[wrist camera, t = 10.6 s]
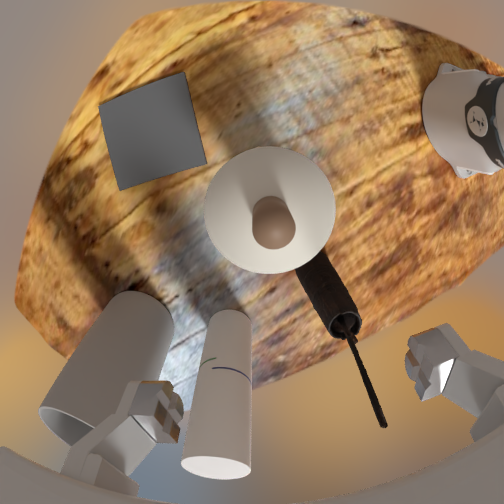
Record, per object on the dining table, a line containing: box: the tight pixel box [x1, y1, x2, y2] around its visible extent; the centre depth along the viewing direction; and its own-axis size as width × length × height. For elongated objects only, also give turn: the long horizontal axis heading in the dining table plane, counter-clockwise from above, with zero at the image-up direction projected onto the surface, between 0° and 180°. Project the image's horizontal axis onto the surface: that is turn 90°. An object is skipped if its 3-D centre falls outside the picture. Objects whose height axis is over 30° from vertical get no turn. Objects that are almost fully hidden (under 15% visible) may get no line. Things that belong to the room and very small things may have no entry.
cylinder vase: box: [38, 291, 174, 446], centre depth 33 cm, size 12×12×25 cm
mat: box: [98, 72, 207, 191], centre depth 32 cm, size 13×13×1 cm
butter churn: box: [295, 251, 388, 428], centre depth 28 cm, size 9×10×28 cm
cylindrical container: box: [181, 309, 252, 479], centre depth 33 cm, size 7×7×25 cm
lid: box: [204, 146, 336, 274], centre depth 21 cm, size 11×11×5 cm
